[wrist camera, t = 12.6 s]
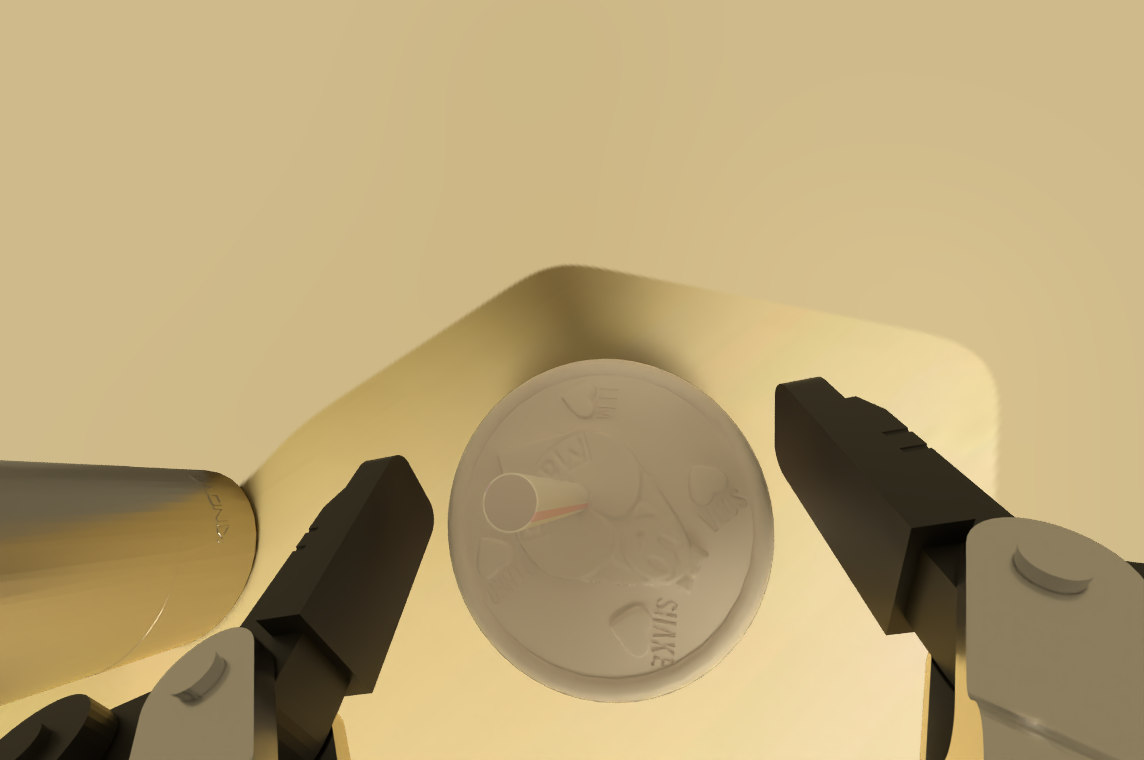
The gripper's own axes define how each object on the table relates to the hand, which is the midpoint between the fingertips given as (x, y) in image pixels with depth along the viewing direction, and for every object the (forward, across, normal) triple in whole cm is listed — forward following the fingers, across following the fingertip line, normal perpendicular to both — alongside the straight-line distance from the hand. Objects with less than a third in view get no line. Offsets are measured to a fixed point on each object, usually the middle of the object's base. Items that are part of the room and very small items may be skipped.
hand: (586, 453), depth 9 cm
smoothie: (+6, 0, +7) cm, 9 cm away
